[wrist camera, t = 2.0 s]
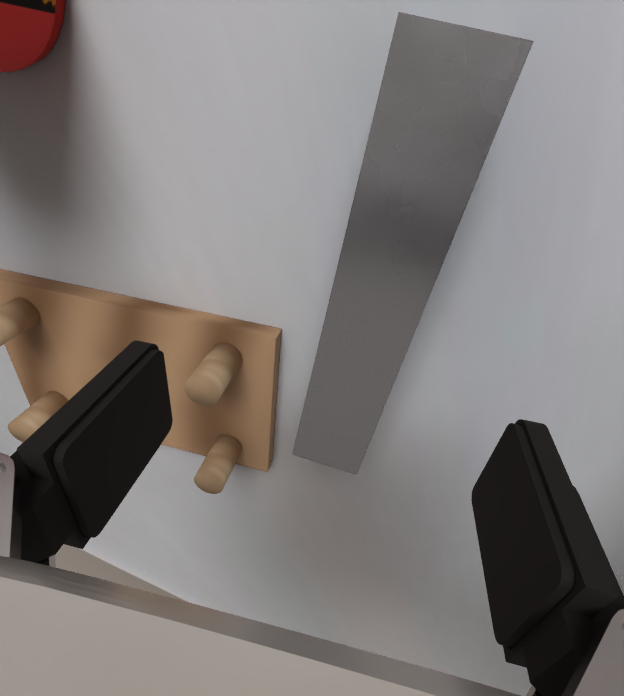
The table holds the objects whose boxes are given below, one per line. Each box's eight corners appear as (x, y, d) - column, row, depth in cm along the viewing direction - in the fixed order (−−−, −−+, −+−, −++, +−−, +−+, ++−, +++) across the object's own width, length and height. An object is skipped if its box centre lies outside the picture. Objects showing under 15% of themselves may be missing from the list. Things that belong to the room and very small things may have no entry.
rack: (281, 328, 23) (254, 375, 19) (272, 459, 30) (251, 513, 26) (-9, 267, 26) (-83, 298, 22) (43, 401, 33) (-6, 442, 29)
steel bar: (404, 37, 15) (398, 12, 10) (494, 57, 15) (533, 41, 10) (316, 384, 25) (292, 454, 20) (368, 399, 25) (356, 474, 20)
